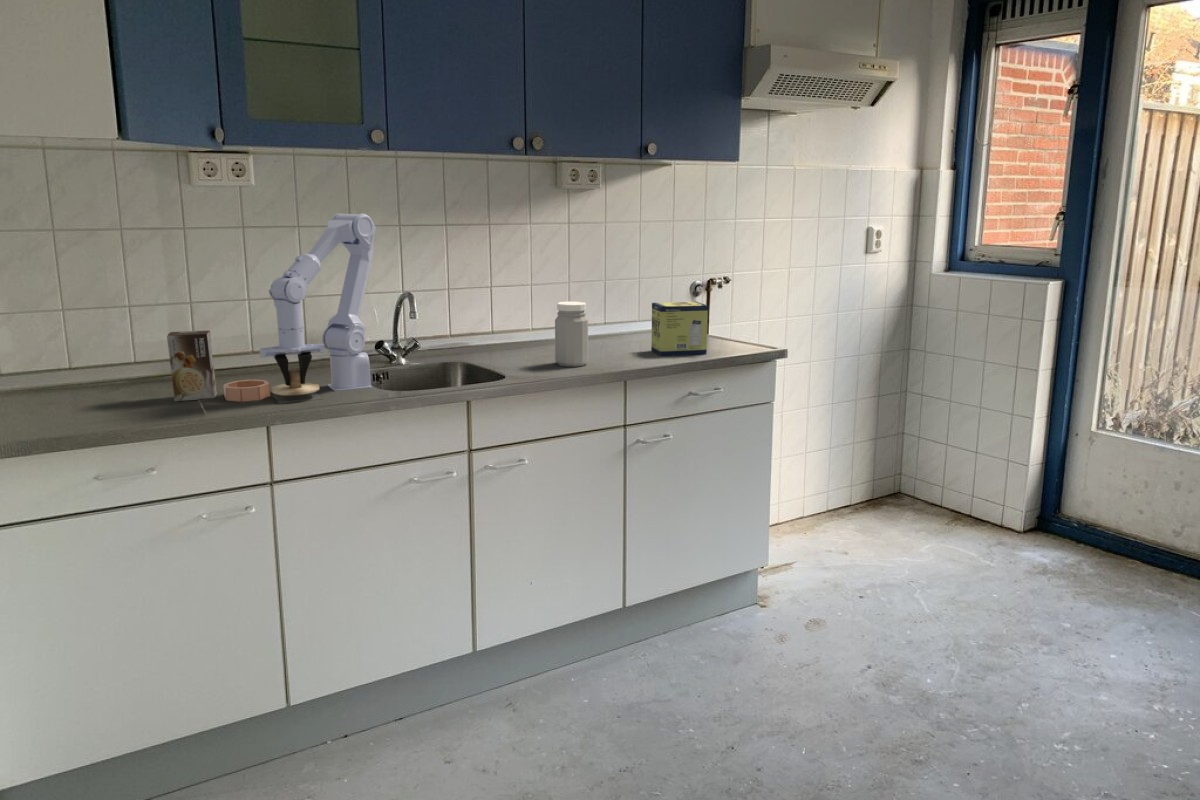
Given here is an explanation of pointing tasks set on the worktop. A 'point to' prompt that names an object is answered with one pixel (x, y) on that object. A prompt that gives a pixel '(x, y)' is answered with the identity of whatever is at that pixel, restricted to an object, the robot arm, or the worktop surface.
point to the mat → (297, 398)
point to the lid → (295, 386)
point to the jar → (571, 334)
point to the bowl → (246, 390)
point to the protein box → (679, 328)
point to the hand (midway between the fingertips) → (295, 384)
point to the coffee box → (191, 365)
